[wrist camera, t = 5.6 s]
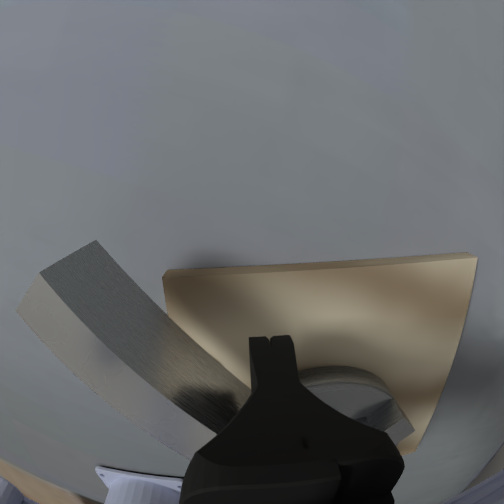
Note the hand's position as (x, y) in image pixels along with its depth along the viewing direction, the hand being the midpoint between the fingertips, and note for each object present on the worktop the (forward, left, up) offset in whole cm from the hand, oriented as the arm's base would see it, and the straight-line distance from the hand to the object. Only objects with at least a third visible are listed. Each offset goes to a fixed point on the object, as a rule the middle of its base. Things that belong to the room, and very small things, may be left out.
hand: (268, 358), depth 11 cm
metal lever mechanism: (-4, 0, -3) cm, 4 cm away
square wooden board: (-6, -3, -4) cm, 8 cm away
